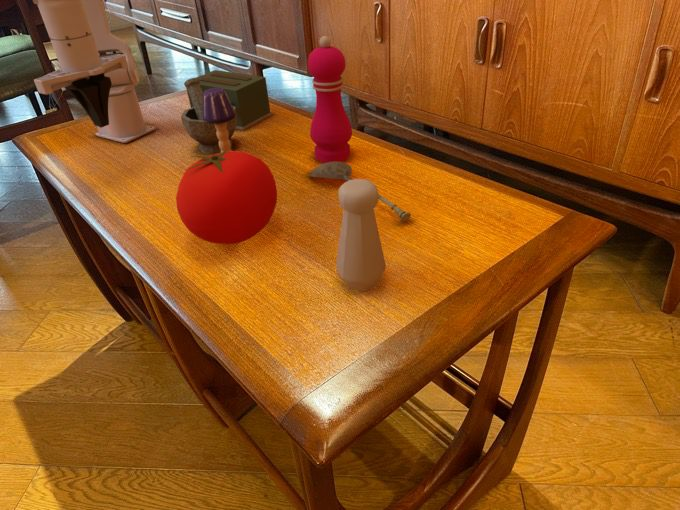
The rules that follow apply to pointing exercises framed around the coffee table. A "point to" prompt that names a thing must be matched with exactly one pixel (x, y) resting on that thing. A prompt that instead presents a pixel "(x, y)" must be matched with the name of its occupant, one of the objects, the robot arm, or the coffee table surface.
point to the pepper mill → (329, 104)
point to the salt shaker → (359, 236)
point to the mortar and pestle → (196, 124)
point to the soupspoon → (343, 173)
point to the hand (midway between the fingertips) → (102, 125)
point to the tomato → (226, 197)
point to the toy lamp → (218, 114)
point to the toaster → (240, 95)
